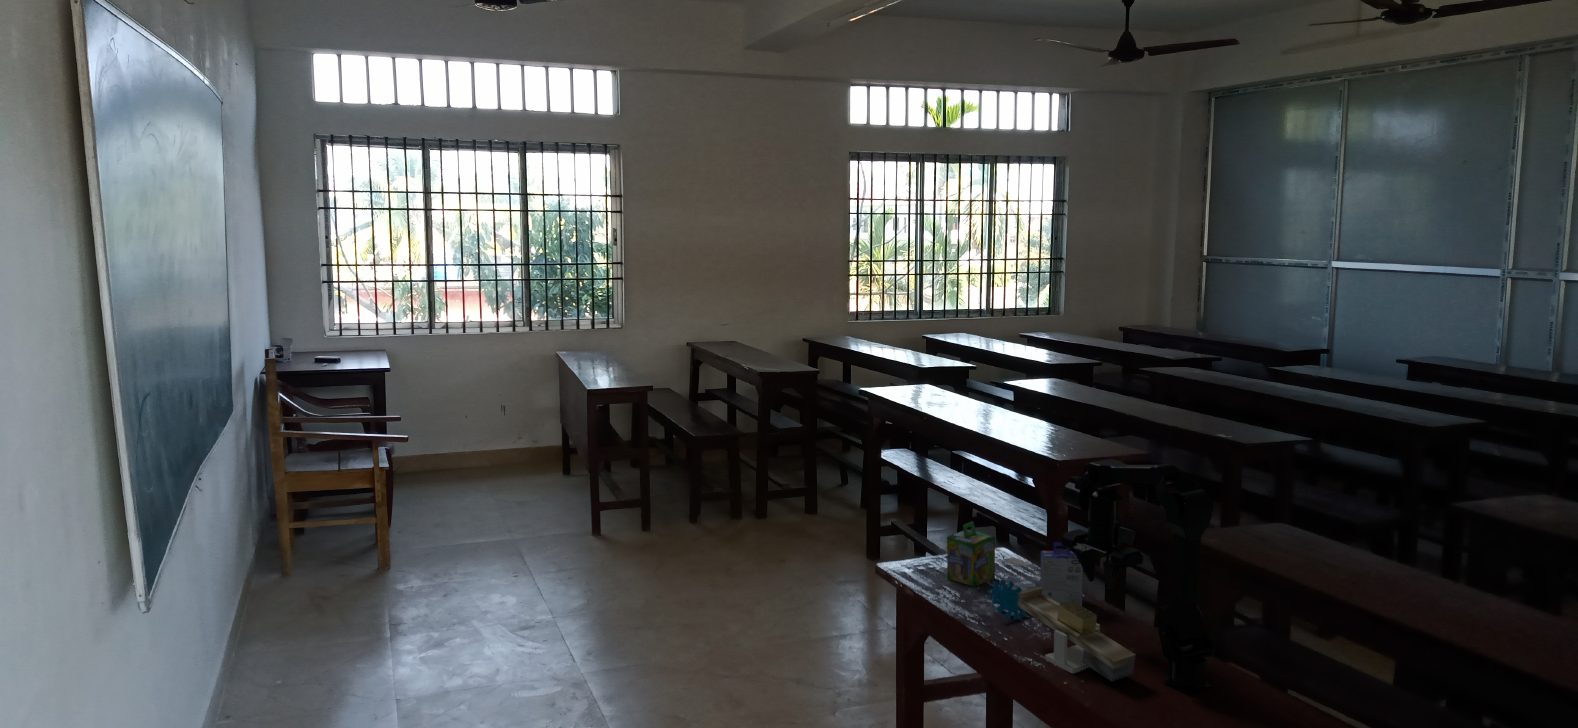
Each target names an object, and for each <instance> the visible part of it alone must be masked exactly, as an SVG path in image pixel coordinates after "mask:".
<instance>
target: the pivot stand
mask: <svg viewBox="0 0 1578 728" xmlns="http://www.w3.org/2000/svg"><path fill="white" fill-rule="evenodd" d="M1096 627H1098V628H1100V629H1101V624H1099V623H1097V622H1096ZM1099 632H1100V633H1101V630H1100V631H1099ZM1083 652H1084V649H1083V648H1081V647H1080V646H1078V645H1077V644H1075V645H1072V646H1068V639H1067V635H1066V634H1064V633H1062V632H1060V631H1058V630H1053V652H1051V653H1047V654H1044V660H1045V661H1047V662H1049V663H1051V664H1053V665H1055V666H1057V667H1059V668H1060V669H1062V670H1065V671H1067V672H1068V673H1070V674H1072V675H1073V674H1076V673H1079V672H1082V671H1085V670H1087V669H1086V668H1088V669H1090V668H1089V666H1087V665H1086V664H1084V663H1083V662H1082V661H1083ZM1084 669H1085V670H1084ZM1081 670H1082V671H1081Z"/></svg>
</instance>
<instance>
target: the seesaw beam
mask: <svg viewBox="0 0 1578 728" xmlns="http://www.w3.org/2000/svg"><path fill="white" fill-rule="evenodd" d="M1042 589H1043V588H1042V587H1041V585H1039V586H1036V587H1032V588H1031V587H1030V588H1029V589H1025V590H1022V591H1021V592H1019V593H1018V595H1019V598H1018V607H1020V608H1021V609H1023V610H1024V611H1025V612H1026V614H1029V615H1030V616H1032V617H1034V619H1037V620H1038V621H1040V622H1041V623H1043V624H1044V625H1046V626H1048V627H1049V628H1050V629H1052V630H1053V631H1055V630H1058V631H1060V632H1062V633H1064V634H1066V635H1067V640H1068V641H1070V642H1072V643H1074V644H1075V645H1078V646H1080V647H1081V648H1083V649H1084V652H1083V661H1082V662H1083V663H1084V664H1086V665H1087V666H1089V667H1090V668H1089V669H1091V670H1094V671H1095V672H1097V673H1098V674H1099V675H1100V676H1102V677H1104V678H1105V679H1107V680H1108V681H1110V682H1111V683H1112V682H1114V681H1118V680H1121V679H1124V678H1126V677H1129V676H1132V675H1134V668H1135V662H1136V661H1135V660H1136V655H1137V654H1136V653H1134V652H1133V651H1131V650H1130V649H1127V648H1126V647H1124V646H1122V645H1121V644H1120V643H1118V642H1116V641H1115V640H1113V639H1111V638H1110V637H1108V636H1106V635H1105V634H1103V633H1102V632H1101V627H1100V628H1098V627H1096V629H1095V633H1092V634H1089V635H1086V636H1083V637H1080V634H1078V633H1077V632H1075V631H1074V630H1072V629H1070V628H1069V627H1067V626H1066V625H1064V624H1063V623H1061V622H1059V621H1058V620H1057V617H1058V608H1059V605H1060V604H1059V603H1058V602H1056V601H1054V600H1053V599H1051V598H1049V597H1048V596H1046V595H1045V594H1042ZM1099 631H1100V632H1099Z"/></svg>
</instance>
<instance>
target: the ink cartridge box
mask: <svg viewBox="0 0 1578 728" xmlns="http://www.w3.org/2000/svg"><path fill="white" fill-rule="evenodd" d="M1059 546H1060V547H1061V546H1063V547H1065V546H1064V545H1062V542H1055V541H1054V542H1053V550H1040V587H1042V588H1043V589H1042V594H1045V595H1046V596H1048V597H1049V598H1051V599H1053V600H1054V601H1056V602H1058V603H1059V604H1063V603H1066V602H1070V601H1074V602H1076V603H1077V604H1079V605H1081V606H1082V607H1083V592H1084V591H1083V587H1084V586H1083V585H1084V570H1083V568H1082V566H1081V564H1080V562H1079V560H1078V558H1077V557H1076V555H1075V553H1073V552H1072V550H1070V548H1069V547H1066V548H1057V547H1059Z"/></svg>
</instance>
